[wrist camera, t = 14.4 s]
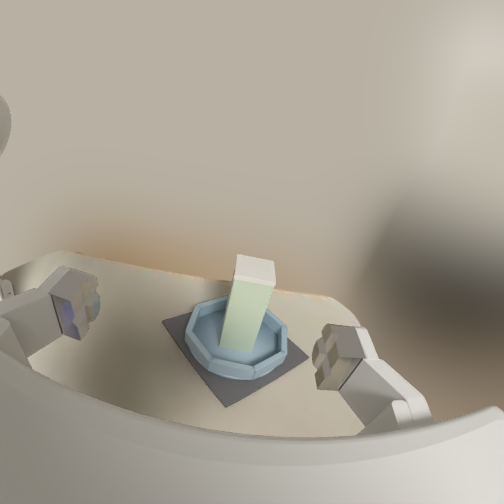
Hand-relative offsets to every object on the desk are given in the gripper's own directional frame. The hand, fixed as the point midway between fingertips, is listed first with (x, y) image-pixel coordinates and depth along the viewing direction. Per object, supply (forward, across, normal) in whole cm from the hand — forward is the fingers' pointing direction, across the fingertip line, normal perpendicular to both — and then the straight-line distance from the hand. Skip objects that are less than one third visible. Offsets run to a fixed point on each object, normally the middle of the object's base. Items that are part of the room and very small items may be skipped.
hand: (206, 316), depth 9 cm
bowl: (+27, -5, +30) cm, 41 cm away
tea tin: (+27, -5, +29) cm, 40 cm away
